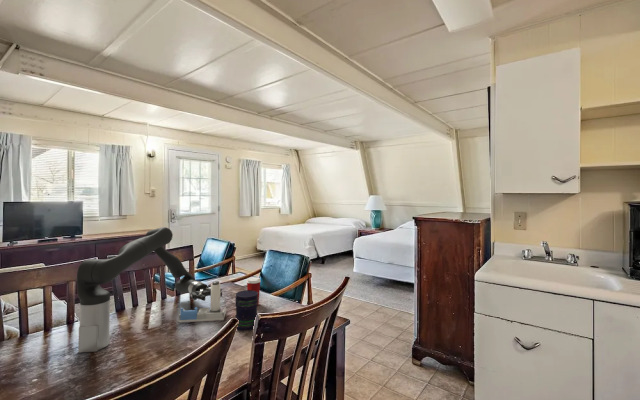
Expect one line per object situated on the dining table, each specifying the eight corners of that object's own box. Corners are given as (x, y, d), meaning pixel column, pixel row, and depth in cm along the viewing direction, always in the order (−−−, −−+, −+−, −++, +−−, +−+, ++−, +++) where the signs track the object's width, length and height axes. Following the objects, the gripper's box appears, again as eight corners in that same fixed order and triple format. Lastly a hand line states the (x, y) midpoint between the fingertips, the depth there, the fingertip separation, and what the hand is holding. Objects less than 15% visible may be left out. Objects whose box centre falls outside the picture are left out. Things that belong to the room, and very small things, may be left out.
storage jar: (251, 332, 128) (252, 297, 128) (230, 330, 130) (231, 296, 130) (260, 323, 138) (261, 291, 138) (241, 321, 140) (241, 289, 140)
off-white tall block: (219, 316, 142) (220, 283, 142) (209, 317, 141) (209, 283, 141) (221, 313, 147) (221, 280, 147) (210, 313, 146) (211, 280, 146)
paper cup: (262, 302, 165) (262, 277, 165) (257, 307, 158) (258, 281, 158) (248, 302, 166) (248, 276, 166) (243, 306, 158) (244, 280, 158)
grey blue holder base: (223, 319, 141) (223, 306, 141) (178, 322, 137) (178, 309, 137) (225, 313, 149) (225, 301, 149) (183, 315, 145) (183, 303, 145)
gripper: (184, 284, 151) (199, 292, 140) (211, 279, 162) (226, 286, 151) (184, 299, 151) (198, 307, 140) (211, 293, 162) (226, 300, 151)
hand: (213, 296), depth 145 cm, fingers open, 8 cm apart
